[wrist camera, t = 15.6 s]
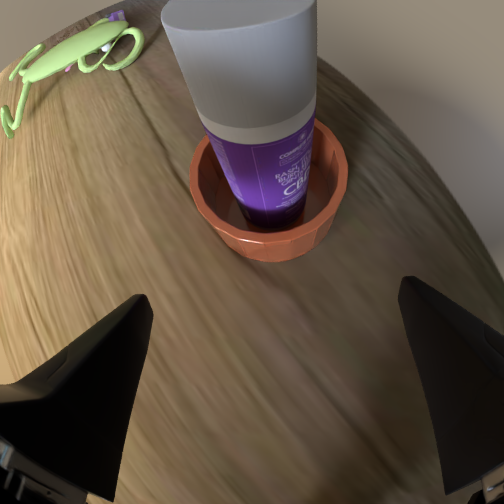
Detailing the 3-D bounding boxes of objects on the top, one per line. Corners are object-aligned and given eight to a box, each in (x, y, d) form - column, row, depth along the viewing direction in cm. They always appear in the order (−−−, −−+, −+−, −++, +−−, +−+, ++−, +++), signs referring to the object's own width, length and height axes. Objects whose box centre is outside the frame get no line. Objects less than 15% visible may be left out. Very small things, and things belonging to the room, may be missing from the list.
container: (296, 238, 19) (305, 39, 5) (230, 221, 20) (125, 41, 6) (312, 178, 20) (329, -24, 6) (250, 164, 21) (196, -26, 6)
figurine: (27, 77, 33) (12, 61, 28) (150, 7, 32) (139, -17, 26) (0, 149, 29) (-23, 133, 23) (147, 62, 27) (128, 29, 21)
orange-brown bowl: (326, 273, 19) (338, 257, 14) (196, 249, 20) (170, 227, 16) (341, 157, 21) (351, 117, 16) (227, 141, 22) (213, 102, 18)
